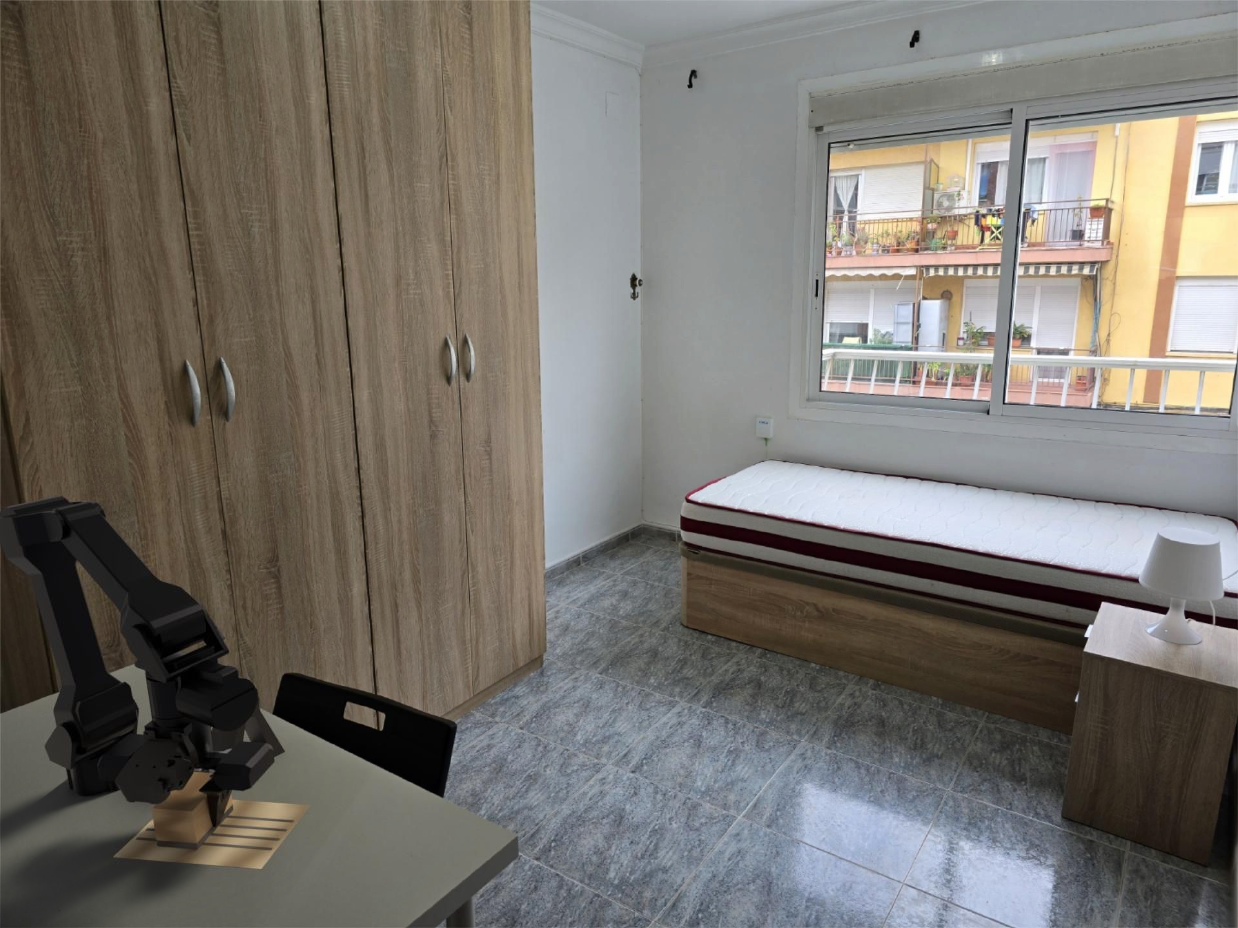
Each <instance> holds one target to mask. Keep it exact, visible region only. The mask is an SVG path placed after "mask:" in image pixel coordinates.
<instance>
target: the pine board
mask: <svg viewBox="0 0 1238 928" xmlns="http://www.w3.org/2000/svg"><path fill="white" fill-rule="evenodd" d="M232 803H233V811H232V812H231V813H230V814H229V815H228V816H227V817H226V819H225V820H224V821H223V822H222V823H221V824H220V825H219V826H218V827H217V828H216V830H215V831H214V832H213V833H212V834H211V835H210V836H209V837H208V838H207V839H206V841H205V842H204V843H203V844H202V845H201V846H200V847H199V848H198V849H188V848H175V847H162V846H157V840H156V834H155V828H154V821H153V818H152V819H150V821H149V822H148V823H147V824H146V825H145V826H144V827H143V828H141V830H140V831H138V833H136V834H135V835H134V836H133V837H132V838H131V839H130V840H129V841H128V842H127V843H126V844H125V845H124V846H123V847H122V848H121V849H119V851H118V852H116V853H115V854H114V856H113V858H118V859H119V858H120V859H131V860H132V859H133V860H142V861H143V860H146V861H157V862H168V863H180V864H193V865H194V864H195V865H205V866H217V867H218V866H219V867H230V868H242V869H243V868H244V869H253V870H262V868H264V867H265V865H266V864H267V862H268V861H269V860H270V859H271V857H272V856H273V855H274V854H275V852H276V850H277V849H278V848H279V847H280V845H281V844H282V843H283V842H284V841H285V839H286V838H287V837H288V835H289V834H290V833H291V831H292V830H293V829H294V827H296V825H297V823H298V822H299V821H301V819H302V817H304V814H305V813H306V812H307V811H308V809H309V808H310V807H311V805H310V804H297V803H285V802H272V801H271V802H269V801H255V800H245V799H243V800H241V799H232Z"/></svg>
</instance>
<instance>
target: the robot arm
mask: <svg viewBox="0 0 1238 928" xmlns="http://www.w3.org/2000/svg"><path fill="white" fill-rule="evenodd" d="M0 546H1V547H2V550H3V552H4V554H5V555H4V556H5V557H6V559H7V560H8V561H9V562H11V563H12V564H13V565H14V566H16V567H17V568H19V569H20V570H21V571H23V572H24V573H25V574H26V575H28V577H29V579H30V582H31V585H32V590H33V593H34V597H35V599H36V602H37V606H38V608H39V612H40V616H41V619H42V623H43V626H44V629H45V632H46V635H47V636H46V637H47V639H48V643H49V647H50V648H51V652H52V656H53V659H54V663H55V666H56V669H57V672H58V676H59V678H60V679H59V680H60V683H61V687H60V690H59V691H58V695H57V699H56V701H55V703H54V707H53V709H52V711H53V716H54V720H55V726H56V727H54V730H53V731H52V732H51V734H50V736H49V737H48V739H47V741H46V743H45V744H44V749H45V751H46V754H47V756H48V757H47V758H48V759H49V761H50V762H51V763H54V764H56V765H58V766H60V767H62V768H64V769H65V771H66V775H67V776H66V777H67V781H68V787H69V788H68V789H69V790H72V791H74V794H75V795H77V796H79V797H94V796H99V795H102V794H104V793H113V792H118V791H120V792H121V794H122V795H123V796H124V799H125V800H126V802H127V803H136V802H137V803H147V804H151V805H156V804H159V803H162V802H163V801H165V800H166V799H167V798H168V797H169V795H170V793H171V791H174V790H178V791H180V790H183V789H184V787H185V786H186V784H187V783H188V781H189V779H190V778H191V776H192V775H193V773H194V772H203V770H205V771H206V770H207V771H208V773H210V779H209V780H208V781H207V782H206V783H205V784H204V785H203V786H202V787H201V788H200V789H199V792H202V793H205V794H207V799H208V806H209V813H210V819H211V822H212V826H213V827H217V826H218V825H219V824H220V823H221V821H222V818H223V815H224V812H225V809H226V807H227V804H228V801H229V798H230V795H232V792H233V791H236V792H237V791H238V792H244V791H247V790H251V789H252V788H253V786H255V784H256V783H257V782H258V781H259V780H260V779H261V778H262V777H263V775H264V774H265V773H266V772H267V771H268V770H269V769H270V768H271V767H272V766H273V764H275V757H274V751H273V748H272V746H271V745H270V744H268V743H261V742H251V741H245V740H243V741H240V742H239V743H238V744H237V745H236V746H235V747H234V748H232V749H228V750H225V751H213V750H214V748H213V747H214V746H215V745H216V744H217V743H218V742H219V741H220V736H219V733H212V732H211V731H212V727H213V728H216V729H218V730H221V731H225V732H226V731H233V730H236V729H238V728H240V727H241V726H242V725H244V724H245V723H246V722H247V721H248V720H249V718H250V717H251V716H252V714H253V712H254V710H255V708H256V705H257V701H258V697H259V691H258V688H257V687H256V685H255V683H254V682H252V681H251V679H247V677H246V678H245V677H243V676H240V675H239V670H238V668H237V667H235V666H232V665H224V664H221V663H219V661H218V659H220V658H223V657H225V656H227V655H229V654H230V650H229V648H228V646H227V644H226V643H225V639H226V636H225V635H224V634H223V633H222V631H221V630H220V629H219V628H218V625H216V623H215V622H214V621H213V619H212V618H211V617H210V615H209V613H208V611H207V609H206V608H205V607H204V605H202V604H201V603H200V602H199V601H198V600H197V599H196V598H194V597H193V595H192V594H190V593H189V592H188V591H186V589H184V588H183V587H181V586H179V585H176V584H173V583H170V582H166V581H162V580H161V579H160V578H158V577H157V576H156V574H154V573H153V572H152V570H151V569H150V568H149V567H148V566H147V565H146V563H145V562H144V561H143V560H142V559H141V558H140V556H139V555H138V554H137V553H136V552H135V551H134V550H133V549H132V547H130V545H129V543H127V541H125V539H124V538H123V537H122V536H121V535H120V534H119V533H118V531H117V530H116V529H115V528H114V526H112V525H111V524H110V522H109V521H108V520H107V516H106V513H105V511H104V509H103V507H102V505H100V503H98V502H96V501H88V500H75V501H69V500H68V499H67V498H65V496H63V495H55V496H50V497H47V498H41V499H37V500H31V501H27V502H22V503H18V504H14V505H9V506H6V507H5V506H4V507H3V508H1V510H0ZM77 563H79V565H80V566H81V567H82V568H83V569H84V570H85V572H86V573H88V576H90V578H92V580H93V581H94V582H95V583H96V584H97V585H98V587H99V588H100V589H101V590H102V591H103V592H104V594H105V595H106V596H107V598H108V599H109V600H110V601H111V602H112V603H113V605H114V606H115V607H116V608H117V610H118V612H119V613H120V618H119V619H120V620H119V623H120V624H119V632H120V633H121V635H122V636H123V638H124V639H125V642H126V646H127V647H128V649H129V651H130V652H131V654H132V655H133V656H134V658H136V660H135V661H134V667H135V668H136V669H139V670H143V671H144V677H145V680H146V681H145V682H146V689H147V694H148V695H147V696H148V702H149V708H150V714H151V715H150V716H151V720H150V721H149V722H147V724H145V725H144V726H143V728H144V730H143V731H142V734H141V733H138V727H139V726H138V724H139V714H140V708H139V706H138V703H137V702H136V700H135V699H134V696H133V691H132V687H131V685H130V684H129V683H128V682H126V681H120V680H119V679H118V678H116V677H115V676H113V674H111V673H109V672H108V670H107V666H106V662H105V660H104V656H103V653H102V649H101V646H100V642H99V639H98V636H97V631H96V628H95V625H94V622H93V618H92V614H91V611H90V608H89V605H88V601H87V598H86V594H85V591H84V587H83V584H82V580H81V578H80V574H79V571H78V568H77ZM202 642H203V643H204V644H205V645H203V646H200V647H199V648H196V649H193V650H192V651H190V652H187V653H184V652H182V651H183V650H186V649H189V648H191V647H192V646H193V647H194V646H195V645H198V644H200V643H202Z"/></svg>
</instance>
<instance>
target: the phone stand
mask: <svg viewBox="0 0 1238 928" xmlns="http://www.w3.org/2000/svg"><path fill="white" fill-rule="evenodd" d="M211 732H212V733H219V736H220V741H219V742H218V743H217V744H216V745H215V746H214V747H213V748H214V750H213V751H225V750H228V749H232V748H234V747H235V746H236V745H237V744H238V743H239V742H240V741H244V739H245V732H246V735H247V737H248V740H249V742H261V743H268V744H270V745H271V746H272V748H273V751H274V758H276V757H278V756H279V755H282V754H284V753H285V752H286V750H285V748H284V747H283V745H282V744H281V742H280V740H279V739H278V737H277V735H276V734H275V732H274V731H273V729H272V727H271V726H270V724H269V722H268V721H267V719H266V717H265V716H264V714H263V712H262V711H261V706H260V697H259V696H258V701H257V705H256V708H255V710H254V712H253V714H252V716H251V717H250V718H249V720H248V721H247V722H246V723H245V724H244V725H242V726H241V727H240V728H238V729H236V730H233V731H226V732H225V731H221V730H218V729H216V728H213V727H211Z"/></svg>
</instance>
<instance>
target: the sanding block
mask: <svg viewBox="0 0 1238 928" xmlns="http://www.w3.org/2000/svg"><path fill="white" fill-rule="evenodd" d="M209 779H210V772H203V771H194V773H193V775H192V776H191V778H190V779H189V781H188V783H187V784H186V786H185V787H184V789H183V790H180V791H178V790H174V791H171V793H170V795H169V797H168V798H167V799H166V800H165V801H163V802H162V803H159V804H154V805H153V807H151V813H152V819H153V821H154V828H155V834H156V840H157V846H162V847H175V848H188V849H198V848H199V847H200V846H201V845H202V844H203V843H204V842H205V841H206V839H207V838H208V837H209V836H210V835H211V834H212V833H213V832H214V831H215V830H216V828H217V827H218V826H219V825H220V824H221V823H222V822H223V821H224V820H225V819H226V817H227V816H228V815H229V814H230V813H231V812H232V811H233V803H232V800H233V797H232V794H231V795H230V798H229V801H228V804H227V807H226V809H225V812H224V815H223V818H222V821H221V823H220V824H219V825H218V826H217V827H213V826H212V822H211V819H210V813H209V806H208V799H207V794H205V793H202V792H199V789H200V788H201V787H202V786H203V785H204V784H205V783H206V782H207V781H208V780H209Z"/></svg>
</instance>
